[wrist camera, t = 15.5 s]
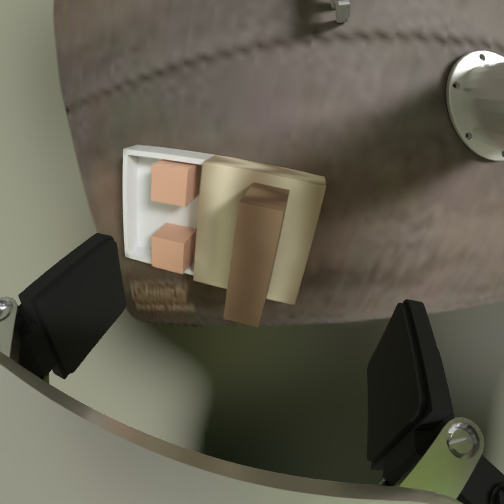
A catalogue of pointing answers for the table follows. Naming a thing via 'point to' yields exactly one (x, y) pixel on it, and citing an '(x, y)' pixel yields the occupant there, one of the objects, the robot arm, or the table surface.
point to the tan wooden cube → (173, 247)
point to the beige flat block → (225, 215)
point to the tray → (143, 208)
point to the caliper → (341, 10)
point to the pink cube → (175, 182)
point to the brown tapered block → (254, 252)
